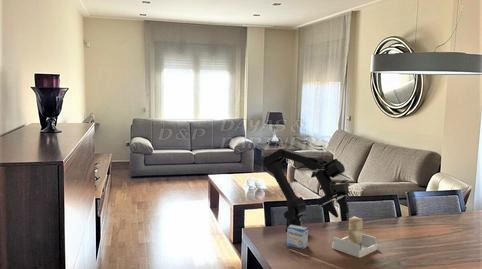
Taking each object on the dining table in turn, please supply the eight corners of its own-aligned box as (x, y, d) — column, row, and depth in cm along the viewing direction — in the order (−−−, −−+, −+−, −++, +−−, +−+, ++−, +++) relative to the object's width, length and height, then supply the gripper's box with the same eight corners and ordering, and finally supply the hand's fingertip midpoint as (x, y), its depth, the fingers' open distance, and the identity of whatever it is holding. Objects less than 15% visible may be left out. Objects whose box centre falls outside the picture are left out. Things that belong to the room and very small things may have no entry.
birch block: (347, 248, 173) (349, 218, 171) (353, 246, 176) (354, 216, 174) (356, 251, 170) (357, 220, 169) (361, 249, 173) (362, 218, 171)
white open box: (332, 249, 173) (332, 236, 173) (349, 242, 182) (350, 229, 181) (360, 259, 163) (360, 245, 163) (377, 250, 172) (377, 238, 172)
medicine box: (286, 246, 176) (287, 226, 175) (290, 243, 180) (290, 224, 179) (304, 250, 172) (304, 230, 171) (307, 246, 176) (308, 227, 175)
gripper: (328, 177, 171) (346, 212, 167) (349, 171, 185) (367, 203, 181) (309, 188, 178) (326, 222, 174) (331, 182, 192) (347, 213, 188)
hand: (342, 214), depth 179 cm, fingers open, 9 cm apart
